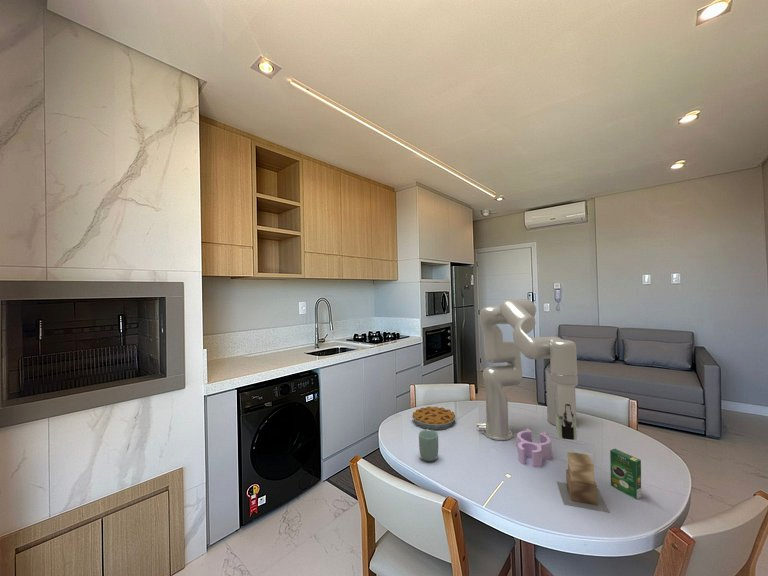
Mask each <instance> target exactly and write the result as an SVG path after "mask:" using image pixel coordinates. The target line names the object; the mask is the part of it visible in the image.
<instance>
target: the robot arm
mask: <svg viewBox="0 0 768 576" xmlns="http://www.w3.org/2000/svg"><path fill="white" fill-rule="evenodd" d="M536 313H537V307H536V305H535V303H534V302H533V301H532V300H530V299H526V298H524V299H523V298H522V299H521V298H518V299H506V300H504V301H502V302H501V303H500V304H498V305H489V306H488V305H487V306H484V307H483V308H482V309H481V310H480V312H479V323H480V327H481V329H482V333H483V348H484V357H485V359H486V362H488V363H489V364H490V363H491V364H499V365H491V366H487V367H486V368H484V369H483V371H482V378H483V383H484V389H485V390H484V391H485V408H486V409H485V412H486V414H485V415H486V420H485V422H483V423H482V422H477V423H476V427H477V428H478V429H479V430H483V434H484V436H485V437H487V438H489V439H491V440H496V441H508V440H511V439H512V438H513V432H512V431H511V430H510V429H509V406H508V405H509V404H508V403H509V402H508V401H509V400H508V395H507V394H506V392H505V391H504V389H503V388H504V387H505V388H506V387H514V386H519V385H521V383H522V381H523V369H522V357H521V356H522V355H523V356H524V357H526V358H527V359H528V360H544V359H545V360H546V359H550V360H549V362H550V370H551V382H552V383H553V384H554V408H555V411H556V413H557V415H558V416H559V417H560V416H562V422H563V425H562V438H563V440H569V439H570V441H575V440H574V427H573V419H572V417H573V418H574V417H575V397H576V391H575V392H574V386H575V387H576V386H578V384H579V380H578V377H579V376H578V361H577V360H578V359H577V358H578V357H577V356H578V355H577V345H576V343H575V342H574V341H572V340H568V339H562V338H561V337H560V336H559V337H558V336H533V337H530V336H529V335H528V334H529V333H531V332H532V331H533V330H534V328H535V327H536V324H537V323H536V319H535V316H536ZM507 324H509V326H511V328H513V331H512V339H513V341H504V338H503V337H504V336H503V332H502V329H501V327H499V326H498V325H507ZM521 354H522V355H521ZM501 363H506V364H504V365H502V364H501ZM500 364H501V365H500ZM564 414H565V415H566V416H564ZM565 418H567V419H566V420H565Z"/></svg>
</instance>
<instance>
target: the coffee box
mask: <svg viewBox="0 0 768 576" xmlns="http://www.w3.org/2000/svg"><path fill="white" fill-rule="evenodd" d="M609 451H610V452H609V455H610V456H609V458H610V459H609V461H610V463H609V464H610V465H609V466H610V467H609V469H610V486H611V487H613V489H614V488H615V489H616V490H618V491H620V492H622V493H624V494H625V495H628V496H629V497H631V498H633V499H634V500H638V499H641V497H642V460H641V459H639V458H637V457H635V456H632V455H630V454H629V453H626V452H624V451H622V450H619V449H617V448H612V449H610V450H609Z"/></svg>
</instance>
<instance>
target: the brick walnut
mask: <svg viewBox="0 0 768 576" xmlns="http://www.w3.org/2000/svg"><path fill="white" fill-rule="evenodd" d="M565 477H566V478H565V480H566V481H565V483H566V484H567V490H568V493H569V496H570V499H571V501H575V502H580V503H586V504H592V505H597V506H598V500H597V488H598V485H597V482H596V480H594V482H595V484H589V483H583V482H577V481H572V479H571V477H570V474H569V472H568V468H566V470H565Z"/></svg>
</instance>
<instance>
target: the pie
mask: <svg viewBox="0 0 768 576" xmlns="http://www.w3.org/2000/svg"><path fill="white" fill-rule="evenodd" d="M411 416H412V418H413V421H414V423H415V424H416V425H417V426H419V427H421V428H423V429H426V430H433V431H439V430H444V429H447V428H450V427H451V426H452V425H453V423H454V421H455V420H456V414H455V412H454V411H451V409H446V408H444V407H438V406H426V407H420V408H419V409H416V410H415V411H413V413H412V415H411Z"/></svg>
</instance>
